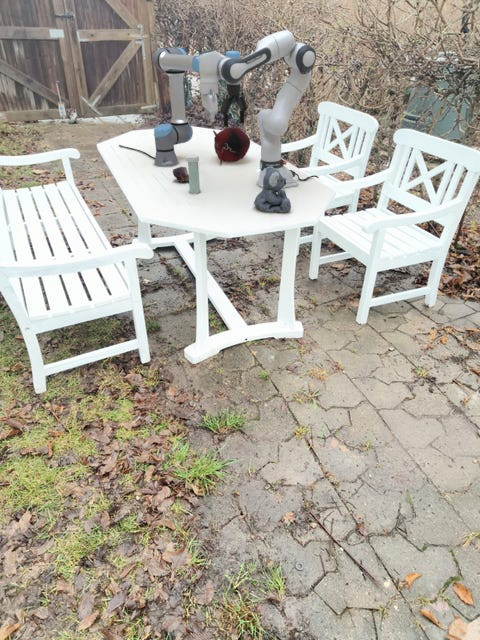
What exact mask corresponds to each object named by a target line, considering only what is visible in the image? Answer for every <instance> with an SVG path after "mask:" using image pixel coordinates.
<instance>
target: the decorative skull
mask: <svg viewBox="0 0 480 640" xmlns="http://www.w3.org/2000/svg"><path fill="white" fill-rule="evenodd" d="M212 132H213V135H214V137H213V140H214V141H213V142H214V144H213V147H214V151H215V154H216V156H217V158H218V160H219V165H220V166H222V164H223V162H225V163H236V162H238V161H241V160H242V159H244V158H245V157H246V155H247V153H248V152H249V149H250V147H251V139H250V138H249V136H248V134H246V132H245V131H243V130H242V129H240V128H238V127H233V126H232V127H231V126H230V127H225V128H224V129H222V130H220V131H219V132H218V133H217V131H215V130H212Z"/></svg>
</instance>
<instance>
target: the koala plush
mask: <svg viewBox="0 0 480 640" xmlns="http://www.w3.org/2000/svg"><path fill="white" fill-rule="evenodd" d="M285 185H286V181H285V180H284V179H283V177H282V175H281V174H280V173H279V171H278V170H275V169H274V168H273V167H271V166H269V167H267V168H266V173H265V176H264V179H263V187H262V190H261V191H260V192H258V194H257V195H256V197H255V198H254V201H253V205H254V207H255V208H256V209H257V210H261V211H263V212H267V213H271V212H275V213H288V212H290V211H291V210H292V204H291V203H292V202H291V200H290V198H288V195H287V192H286V190H285V189H284V188H283V187H284V186H285Z"/></svg>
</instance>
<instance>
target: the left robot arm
mask: <svg viewBox="0 0 480 640" xmlns="http://www.w3.org/2000/svg"><path fill="white" fill-rule="evenodd" d="M222 55H223V56H225V57H228V58H232V59H241V52H240V51H238V50H228V51H226V53H225V54H222ZM199 57H200V55H189V54H187V52H186V51H185V50H184V49H183V48H182V47H180V46H179V47H176V46H175V47H162V48H158V49H156V50H155V51H154V52H153V54H152V59H151V61H152V64H153V67H154V68H155V69H157V70H158V71H161V72H165V74H166V75H167V76H168V83H169V95H170V107H171V120H170V121H169V123H161V124H158V125H156V126H155V127H154V129H153V136H154V145H155V155H154V156H152V155H150V154H149V153H147V152H145V151H143V150H141V149H137V148H132V147H129V146H125V145H121V144H118V146H119V147H121V148H125V149H130V150H132V151H136V152H140V153H142V154H144V155H147V156H148V157H150V158H151V159H154V160H153V161H154V165H155V166H157V167H163V168H164V167H165V168H167V167H168V168H169V167H174V166H177V165H178V164H179V159H178V157H177V153H176V151H175V145H180V144H185V143H187V142H190V141H191V140H192V139H193V135H194V130H193V129H194V128H193V127H192V125H191V123H189V120H188V119H187V117H186V116H187V115H186V103H185V90H184V88H185V87H184V75H185V74H186V71H187V72H194V73H196V74H200V73H199ZM226 91H227V94H223V99H222V103H221V108H220V111H219V114H221V115H222V120H223V127H224V128H229V114H228V113H229V110H230V108H231V106H232V105H233V104H234V103H236V104H237V107H238V108H239V109H240V110H239V123H240V124H245V116H246V112H247V110H248V105H247V101H246V99H245V94H244V92H243V91H241V80H240V81H239V82H237V83H234V84H232V83H229V82H227V81H226Z"/></svg>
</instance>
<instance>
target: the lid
mask: <svg viewBox="0 0 480 640" xmlns="http://www.w3.org/2000/svg"><path fill="white" fill-rule="evenodd" d="M199 160H200V157H199V155H198V154H197V155H196V154H190V155H187V156H186V162H187V163H188V162H197V161H198V162H199Z"/></svg>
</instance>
